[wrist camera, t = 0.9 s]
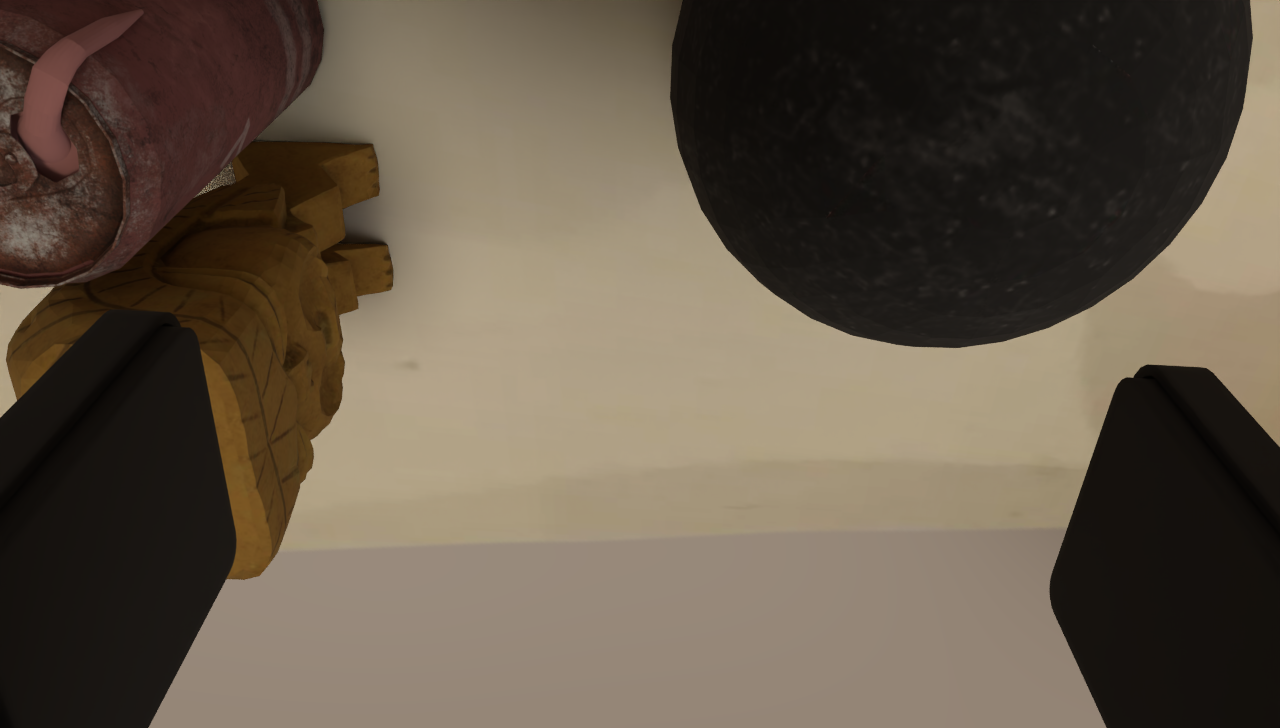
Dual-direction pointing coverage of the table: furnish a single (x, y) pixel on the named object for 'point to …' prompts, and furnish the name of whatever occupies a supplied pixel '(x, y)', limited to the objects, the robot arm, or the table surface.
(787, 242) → the black crystal ball
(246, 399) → the figurine
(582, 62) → the table surface
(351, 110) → the table surface
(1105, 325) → the table surface
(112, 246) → the can
